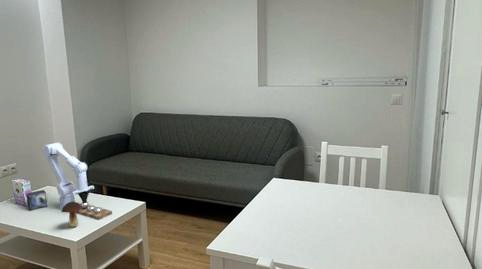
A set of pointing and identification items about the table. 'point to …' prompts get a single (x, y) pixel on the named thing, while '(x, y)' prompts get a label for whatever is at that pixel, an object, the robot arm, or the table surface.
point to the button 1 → (85, 205)
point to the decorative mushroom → (72, 212)
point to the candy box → (21, 191)
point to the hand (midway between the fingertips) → (84, 202)
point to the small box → (36, 200)
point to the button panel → (94, 215)
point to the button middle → (91, 208)
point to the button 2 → (98, 210)
